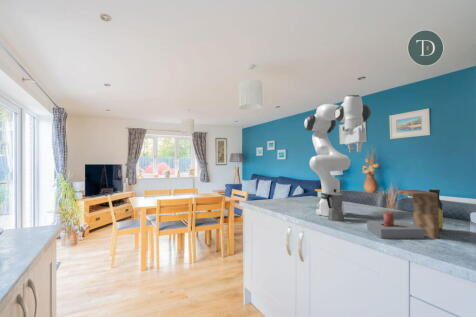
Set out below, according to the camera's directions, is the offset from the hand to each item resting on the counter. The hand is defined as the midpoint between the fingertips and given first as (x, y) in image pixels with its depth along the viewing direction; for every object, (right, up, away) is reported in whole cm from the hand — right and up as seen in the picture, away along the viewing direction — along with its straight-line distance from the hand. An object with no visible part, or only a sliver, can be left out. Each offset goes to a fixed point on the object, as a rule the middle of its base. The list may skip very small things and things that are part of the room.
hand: (355, 152), depth 126 cm
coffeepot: (-3, -40, +18) cm, 44 cm away
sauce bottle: (+34, -38, -9) cm, 52 cm away
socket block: (+12, -38, -13) cm, 42 cm away
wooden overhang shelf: (+22, -38, -14) cm, 46 cm away
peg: (+10, -39, -13) cm, 42 cm away
